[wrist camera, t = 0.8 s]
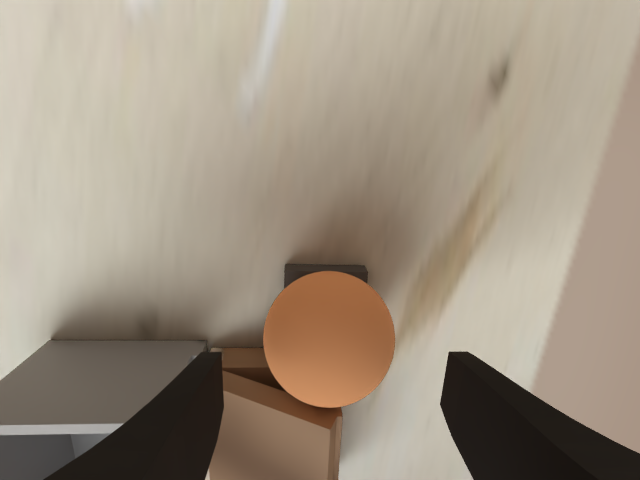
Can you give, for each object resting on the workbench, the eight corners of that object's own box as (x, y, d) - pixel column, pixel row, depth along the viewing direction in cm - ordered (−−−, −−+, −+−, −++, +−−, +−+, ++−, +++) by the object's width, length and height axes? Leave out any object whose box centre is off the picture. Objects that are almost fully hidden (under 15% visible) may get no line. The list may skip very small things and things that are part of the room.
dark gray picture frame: (358, 335, 17) (361, 344, 16) (284, 335, 17) (283, 344, 16) (364, 265, 16) (367, 272, 15) (285, 264, 16) (284, 270, 15)
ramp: (324, 474, 19) (333, 584, 15) (218, 476, 19) (191, 590, 14) (331, 347, 17) (344, 429, 12) (211, 347, 17) (177, 432, 12)
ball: (373, 353, 17) (404, 440, 12) (269, 353, 17) (256, 442, 12) (383, 254, 15) (421, 308, 11) (268, 252, 15) (254, 307, 10)
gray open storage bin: (215, 482, 19) (187, 598, 14) (78, 485, 19) (3, 606, 14) (206, 340, 17) (170, 422, 12) (49, 340, 16) (-56, 426, 11)
